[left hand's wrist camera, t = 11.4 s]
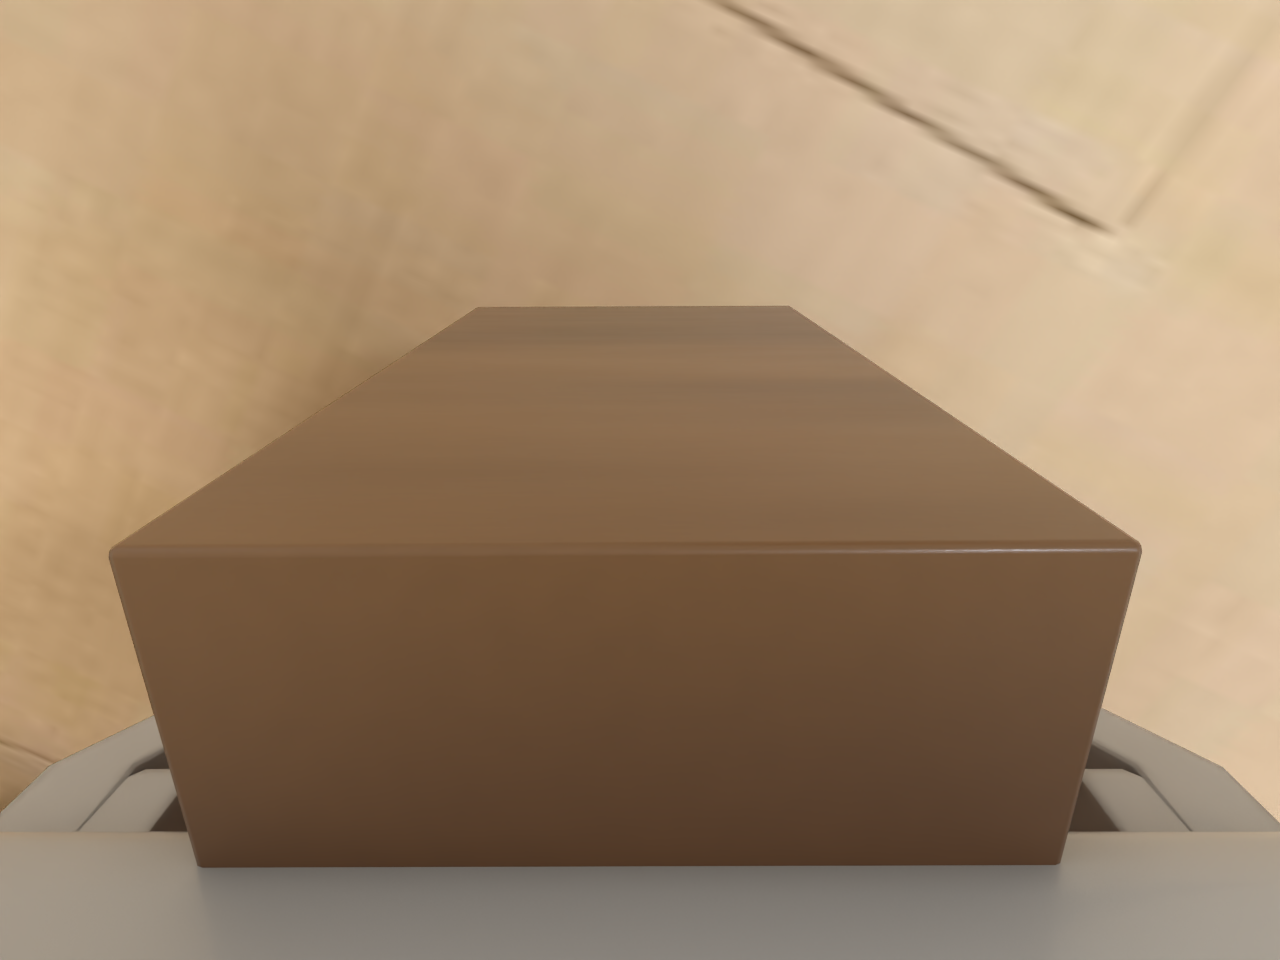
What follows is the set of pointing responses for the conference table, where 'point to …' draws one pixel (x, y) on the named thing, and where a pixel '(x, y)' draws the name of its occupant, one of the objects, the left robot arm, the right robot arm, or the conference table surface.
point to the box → (627, 613)
